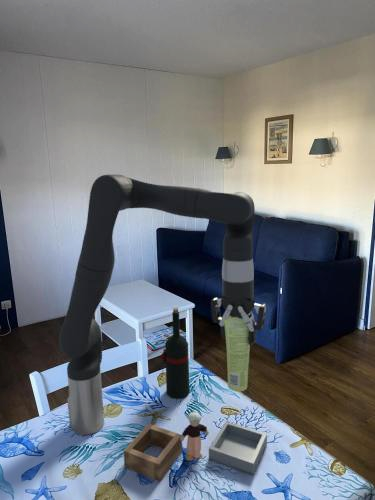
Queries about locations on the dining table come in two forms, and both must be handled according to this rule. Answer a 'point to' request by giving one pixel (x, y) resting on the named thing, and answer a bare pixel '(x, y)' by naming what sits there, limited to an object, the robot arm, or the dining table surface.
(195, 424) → the grandmother figurine
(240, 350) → the tube
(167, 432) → the wooden frame
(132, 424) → the dining table surface
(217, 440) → the tray
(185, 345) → the wine bottle
